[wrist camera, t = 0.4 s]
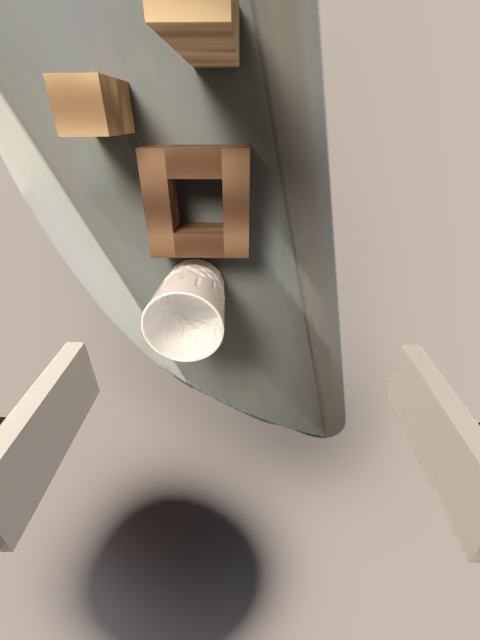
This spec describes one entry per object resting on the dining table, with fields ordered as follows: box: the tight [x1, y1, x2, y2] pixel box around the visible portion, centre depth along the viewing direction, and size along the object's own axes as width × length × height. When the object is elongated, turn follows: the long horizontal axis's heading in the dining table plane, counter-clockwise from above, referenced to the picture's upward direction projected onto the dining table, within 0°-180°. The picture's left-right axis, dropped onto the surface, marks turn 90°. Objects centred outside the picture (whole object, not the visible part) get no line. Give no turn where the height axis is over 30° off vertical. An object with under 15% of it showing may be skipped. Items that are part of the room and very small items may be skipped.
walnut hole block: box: [135, 145, 250, 258], centre depth 33 cm, size 10×10×4 cm
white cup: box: [141, 259, 225, 362], centre depth 36 cm, size 8×8×10 cm
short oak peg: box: [43, 73, 135, 137], centre depth 28 cm, size 4×4×7 cm
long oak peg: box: [143, 0, 240, 68], centre depth 21 cm, size 4×4×16 cm
